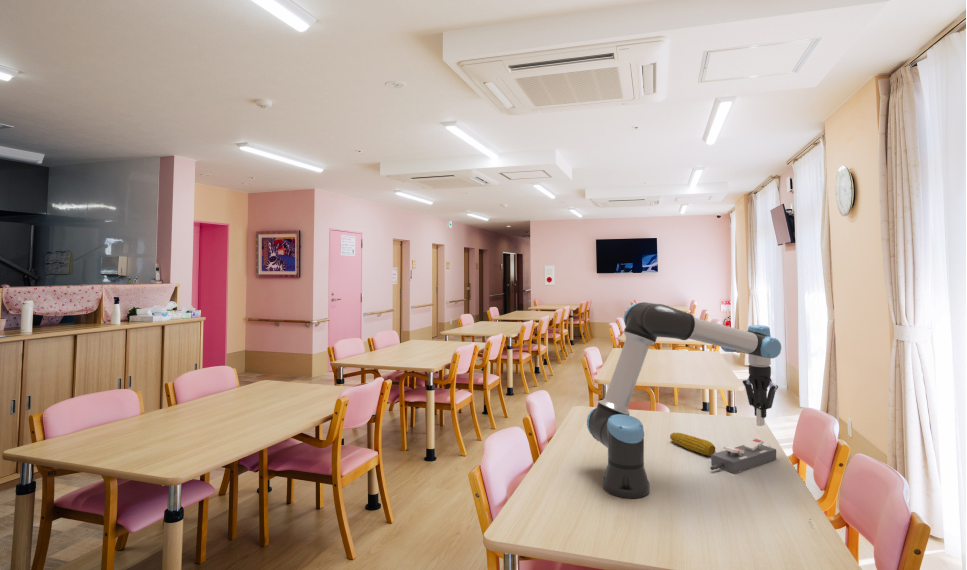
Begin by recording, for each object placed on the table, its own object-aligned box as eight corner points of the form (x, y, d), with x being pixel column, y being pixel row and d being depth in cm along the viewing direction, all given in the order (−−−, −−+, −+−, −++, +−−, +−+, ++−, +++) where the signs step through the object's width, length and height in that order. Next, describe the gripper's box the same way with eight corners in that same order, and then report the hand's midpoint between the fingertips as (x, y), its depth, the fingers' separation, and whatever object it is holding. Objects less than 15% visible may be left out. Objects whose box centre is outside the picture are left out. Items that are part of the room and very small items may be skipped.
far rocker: (753, 451, 179) (752, 448, 179) (743, 447, 183) (743, 445, 182) (764, 443, 182) (763, 440, 182) (754, 440, 186) (754, 437, 186)
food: (717, 456, 186) (717, 441, 186) (708, 459, 183) (707, 444, 183) (674, 440, 205) (674, 426, 205) (665, 442, 202) (665, 429, 202)
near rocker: (733, 452, 174) (733, 449, 174) (723, 449, 177) (723, 446, 177) (744, 453, 177) (744, 450, 177) (734, 450, 180) (735, 447, 180)
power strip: (723, 477, 167) (722, 463, 167) (700, 468, 175) (700, 454, 175) (776, 459, 182) (776, 446, 182) (753, 452, 190) (753, 439, 190)
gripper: (782, 366, 180) (783, 428, 180) (749, 361, 191) (750, 419, 192) (770, 368, 176) (771, 431, 177) (737, 363, 188) (738, 422, 188)
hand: (760, 425), depth 184 cm, fingers closed
